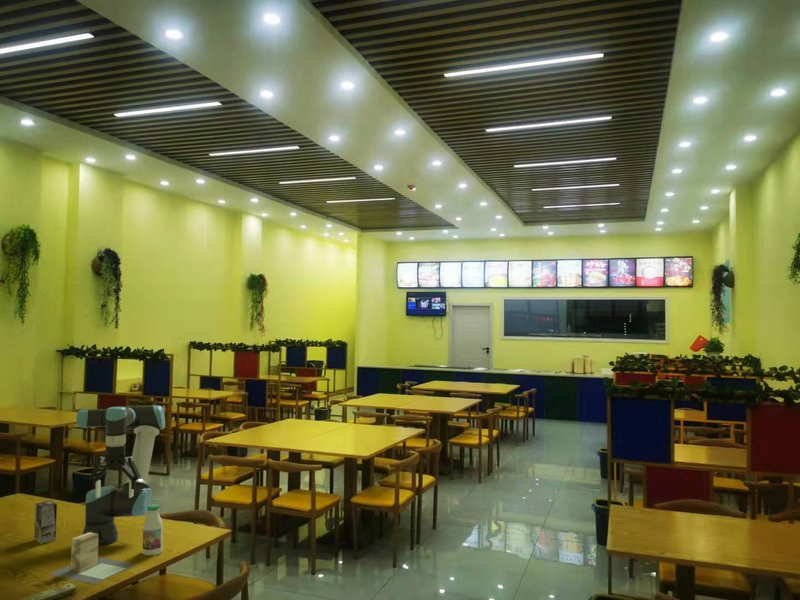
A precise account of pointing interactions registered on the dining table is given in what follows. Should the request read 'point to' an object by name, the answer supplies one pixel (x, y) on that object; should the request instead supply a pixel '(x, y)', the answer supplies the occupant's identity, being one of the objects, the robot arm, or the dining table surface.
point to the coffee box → (45, 521)
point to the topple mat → (95, 571)
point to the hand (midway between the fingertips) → (114, 497)
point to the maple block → (84, 552)
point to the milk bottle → (153, 532)
